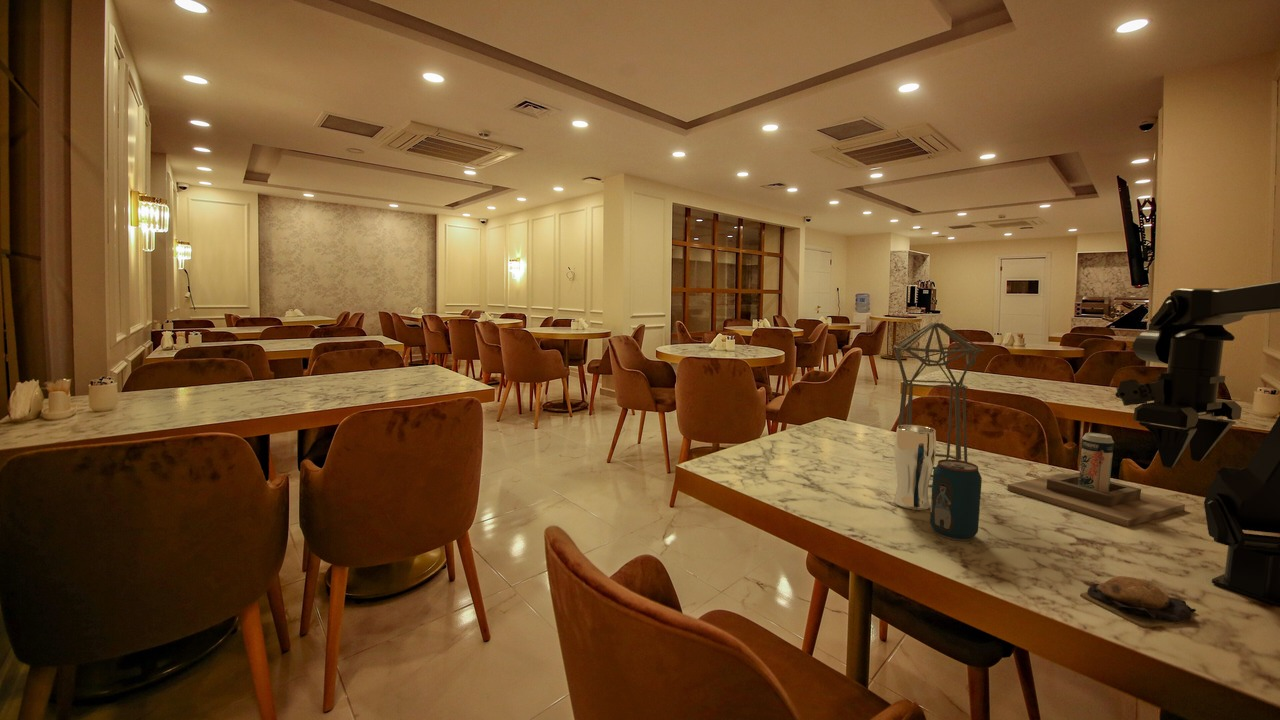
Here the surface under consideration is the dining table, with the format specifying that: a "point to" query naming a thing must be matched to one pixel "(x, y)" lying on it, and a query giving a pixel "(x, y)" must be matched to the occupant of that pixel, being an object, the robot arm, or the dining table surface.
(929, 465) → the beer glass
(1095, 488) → the beer can
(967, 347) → the geometric lantern
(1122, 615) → the bread roll
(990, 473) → the dining table surface
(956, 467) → the soda can
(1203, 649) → the dining table surface
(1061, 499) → the brown square frame
